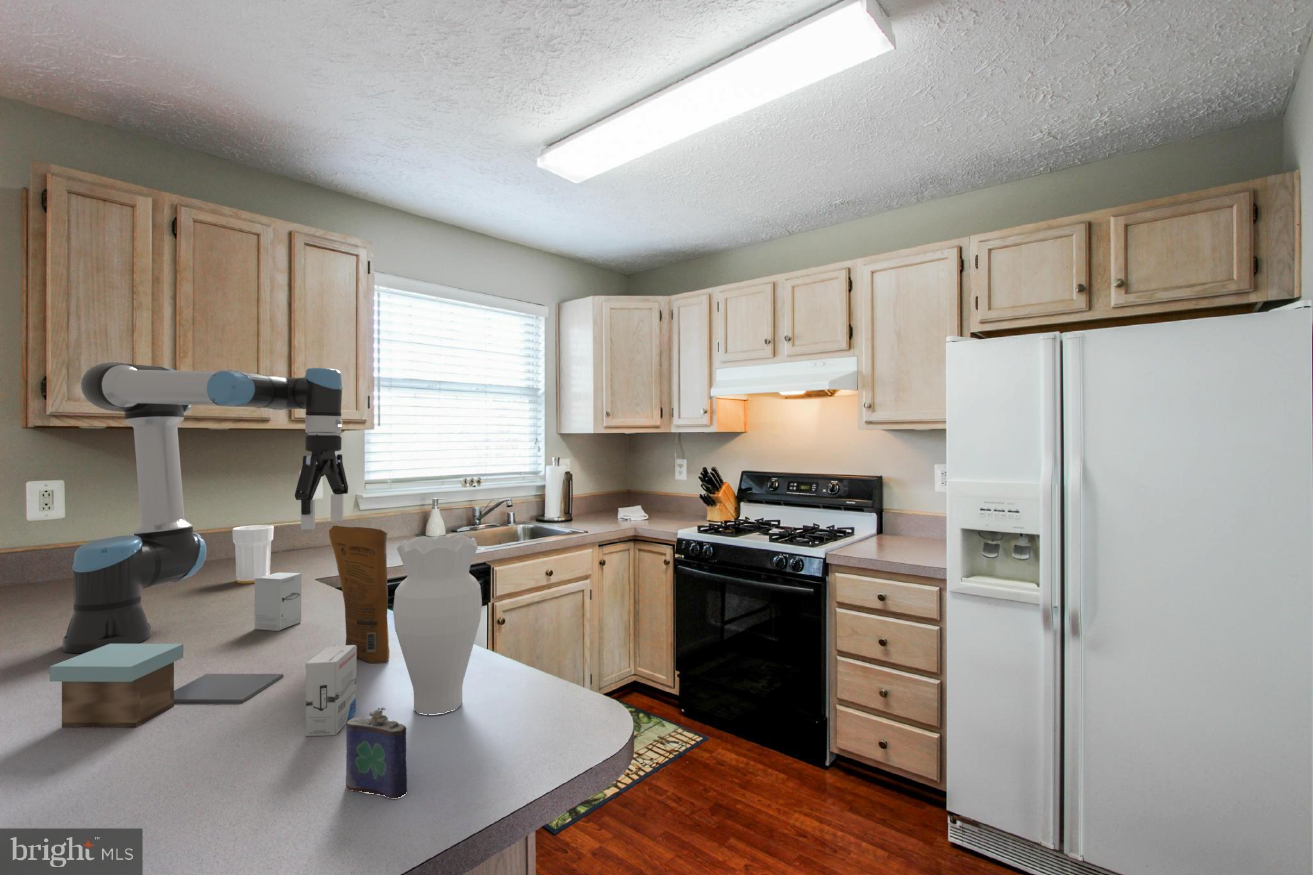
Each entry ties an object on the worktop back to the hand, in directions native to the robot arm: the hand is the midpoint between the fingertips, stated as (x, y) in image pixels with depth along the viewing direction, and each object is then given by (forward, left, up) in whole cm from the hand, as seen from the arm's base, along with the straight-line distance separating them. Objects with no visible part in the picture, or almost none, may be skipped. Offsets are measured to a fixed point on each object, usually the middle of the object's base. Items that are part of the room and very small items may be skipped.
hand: (323, 524), depth 148 cm
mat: (-2, -31, -26) cm, 40 cm away
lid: (-12, -42, -18) cm, 47 cm away
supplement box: (-16, +8, -27) cm, 32 cm away
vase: (+40, -38, -27) cm, 61 cm away
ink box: (+25, -45, -27) cm, 58 cm away
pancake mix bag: (+15, -13, -27) cm, 33 cm away
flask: (+41, -64, -27) cm, 80 cm away
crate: (-12, -42, -26) cm, 51 cm away
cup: (-54, +57, -27) cm, 83 cm away
